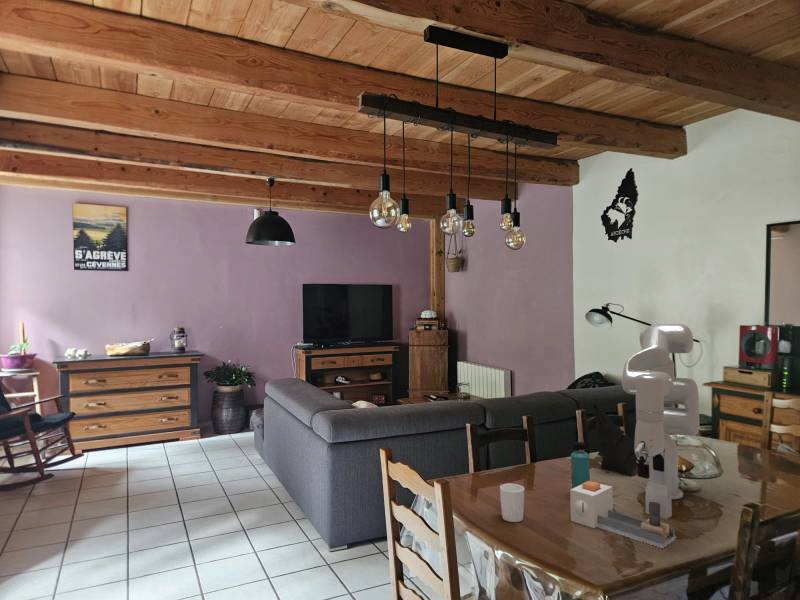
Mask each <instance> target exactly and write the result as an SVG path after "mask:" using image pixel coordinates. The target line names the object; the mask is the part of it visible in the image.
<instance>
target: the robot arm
mask: <svg viewBox="0 0 800 600" xmlns="http://www.w3.org/2000/svg"><path fill="white" fill-rule="evenodd" d="M639 344H640V348H641V350H639V351H637V352H636V353H634V354H633V355H631V356H630V357H629V358H628V359H627V360H626V362H625V363H624V364H623V365H624V366H623V371H622V375H621V387H622V390H623V391H624V392H625V393H626V394H629V395H635V419H636V423H635V428H634V429H635V431H634V439H635V455H636V459H637V468H636V469H637V477H639V478H643V479H647V480H648V482H650V483H654V484H658V485H662V486H666V487H669V491H670V495H671V500H680V499H682V498H683V497H684V492H683V491H682V490H681V489H680V488H679V484H680V483H681V479H680V478H679V468H678V464H679V463H678V445H677V443H676V442H675V440H674V439H673V438H672V437H671V435H675V436H686V437H688V436H689V437H694V436H697V435H698V434H699V431H700V404H699V403H700V402H699V401H700V399H699V398H700V397H699V395H700V394H699V388H698V385H697V383H696V380H694V379H691V378H687V377H676V376H675V363H674V361H673V360H672V359H671V357H670V355H671V354H689V353H691V351H692V350H693V347H694V336H693V333H692V331H691V329H690V328H689V326H687V325H685V324H681V323H678V324H677V323H675V324H674V323H669V324H668V323H659V324H658V323H656V324H655V323H654V324H651V325H649V326H648V327H646V328H645V330H643V331H642V332H640V334H639ZM665 404H671V405H672V404H674V405H682V406H683V408H681V407H672V406H671V407H669V406H665ZM644 457H645V458H644ZM646 490H647V485H646V486H645V487H644V492H645V493H646Z"/></svg>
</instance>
